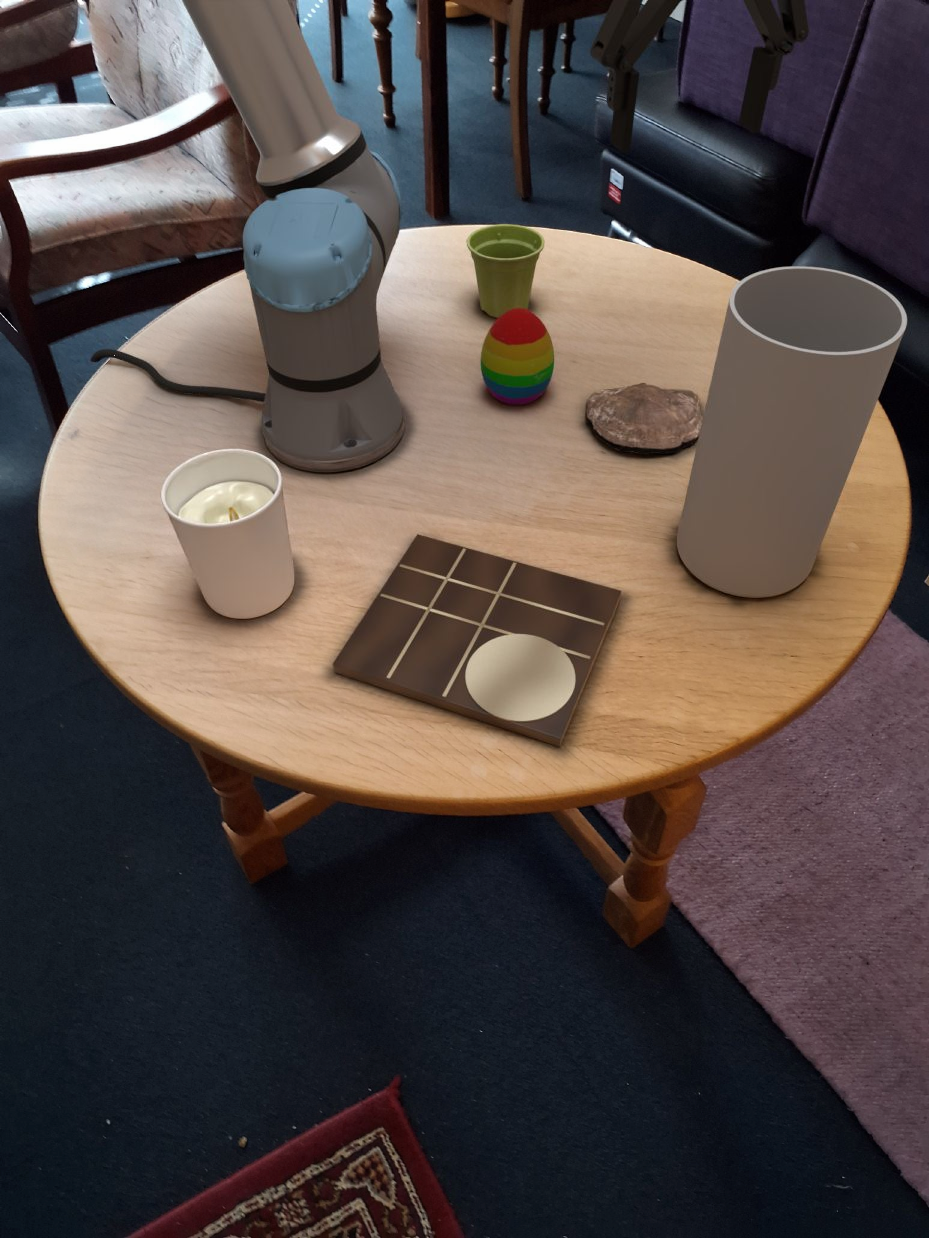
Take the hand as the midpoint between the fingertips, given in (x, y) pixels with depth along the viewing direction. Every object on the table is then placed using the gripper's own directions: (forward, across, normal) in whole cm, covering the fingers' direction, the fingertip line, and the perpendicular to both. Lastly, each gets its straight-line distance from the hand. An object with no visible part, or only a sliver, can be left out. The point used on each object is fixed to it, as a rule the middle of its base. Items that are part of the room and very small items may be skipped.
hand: (685, 137), depth 85 cm
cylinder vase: (+26, -5, -30) cm, 40 cm away
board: (+26, -31, -31) cm, 51 cm away
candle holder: (+26, -49, -19) cm, 59 cm away
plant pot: (+26, -10, +20) cm, 35 cm away
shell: (+26, -5, -9) cm, 28 cm away
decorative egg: (+26, -15, +2) cm, 30 cm away
